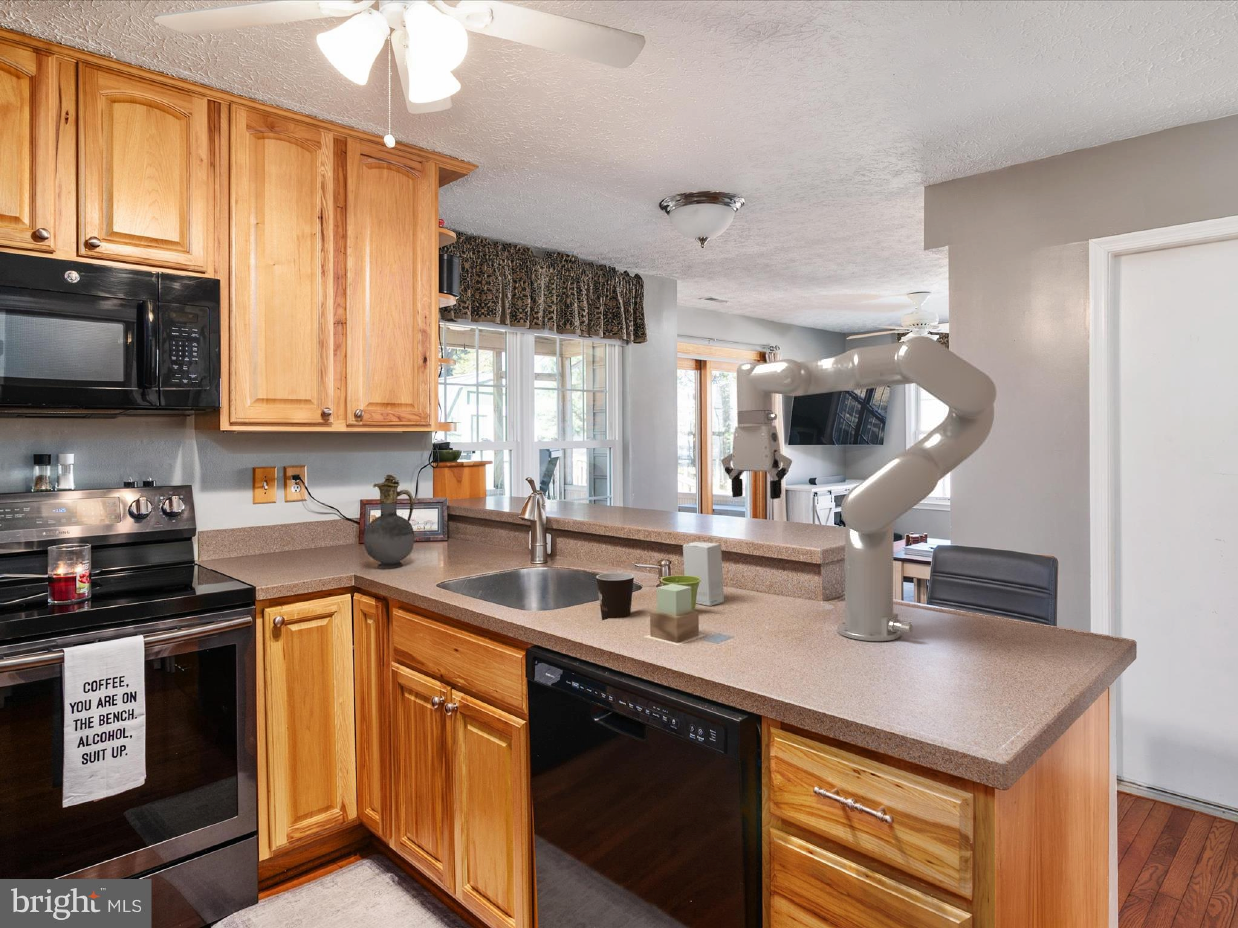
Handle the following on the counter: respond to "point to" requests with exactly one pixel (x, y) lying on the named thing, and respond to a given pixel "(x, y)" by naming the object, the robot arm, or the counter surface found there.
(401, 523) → the pitcher
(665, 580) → the plant pot
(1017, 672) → the counter surface
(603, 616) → the coffee mug
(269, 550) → the counter surface
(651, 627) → the walnut block
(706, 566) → the skincare box
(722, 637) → the blueprint board
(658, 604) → the sage cube
